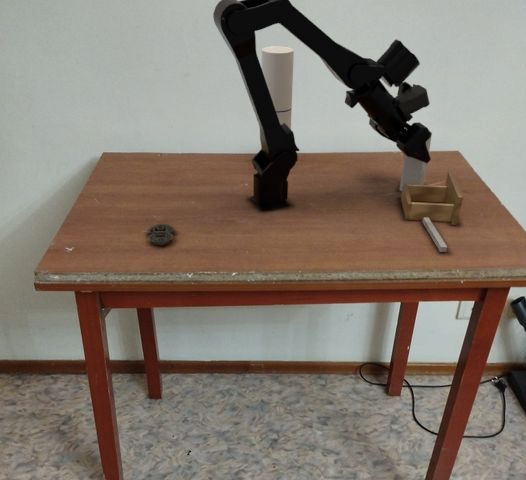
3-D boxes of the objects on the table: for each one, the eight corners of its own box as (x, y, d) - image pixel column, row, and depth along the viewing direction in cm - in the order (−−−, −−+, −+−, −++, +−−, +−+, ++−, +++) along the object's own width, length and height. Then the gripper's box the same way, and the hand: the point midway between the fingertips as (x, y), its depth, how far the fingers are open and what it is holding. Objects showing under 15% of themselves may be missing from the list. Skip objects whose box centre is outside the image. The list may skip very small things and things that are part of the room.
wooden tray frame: (406, 222, 120) (410, 194, 117) (400, 196, 131) (404, 169, 127) (456, 225, 120) (463, 197, 116) (447, 198, 130) (452, 172, 126)
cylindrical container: (286, 166, 144) (291, 54, 128) (258, 164, 145) (258, 52, 129) (291, 156, 149) (296, 47, 134) (264, 153, 150) (265, 45, 135)
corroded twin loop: (147, 247, 111) (147, 243, 110) (148, 228, 117) (147, 223, 116) (174, 246, 111) (174, 241, 111) (174, 227, 118) (173, 222, 117)
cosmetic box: (417, 194, 131) (427, 140, 124) (397, 191, 133) (406, 136, 125) (424, 185, 136) (434, 131, 128) (405, 181, 137) (413, 128, 130)
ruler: (446, 251, 111) (447, 247, 110) (440, 252, 111) (441, 247, 110) (427, 221, 120) (428, 217, 120) (422, 221, 120) (423, 217, 120)
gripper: (431, 85, 111) (470, 139, 120) (389, 62, 125) (427, 112, 134) (386, 130, 114) (428, 180, 123) (351, 103, 128) (390, 149, 137)
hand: (418, 153), depth 129 cm, fingers open, 9 cm apart
